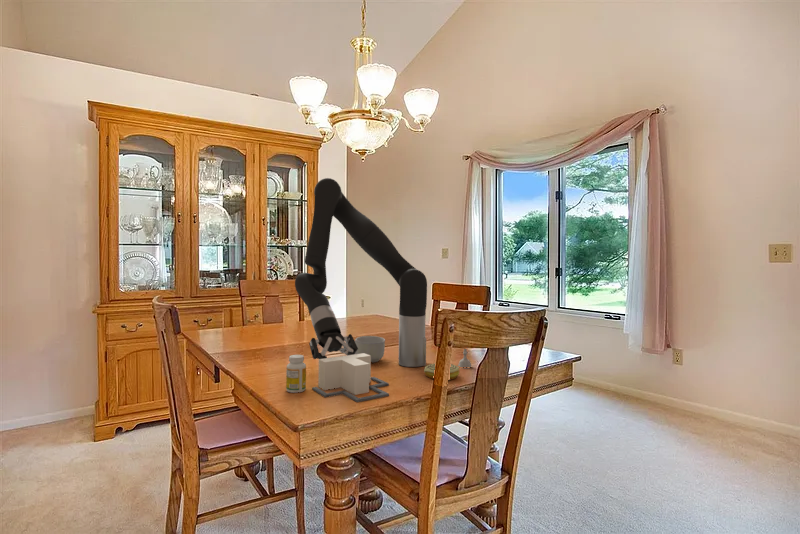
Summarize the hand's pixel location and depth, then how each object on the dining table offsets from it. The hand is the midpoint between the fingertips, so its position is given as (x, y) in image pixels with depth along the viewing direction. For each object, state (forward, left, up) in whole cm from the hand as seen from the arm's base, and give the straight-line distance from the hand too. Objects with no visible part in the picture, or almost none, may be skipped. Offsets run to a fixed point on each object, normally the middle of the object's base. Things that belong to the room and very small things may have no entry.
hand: (341, 367), depth 133 cm
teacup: (-8, -27, -5) cm, 29 cm away
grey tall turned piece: (-42, -17, -5) cm, 45 cm away
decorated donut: (-31, -5, -5) cm, 32 cm away
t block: (-3, +6, -5) cm, 8 cm away
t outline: (-5, +8, -5) cm, 11 cm away
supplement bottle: (+12, +7, -5) cm, 15 cm away
